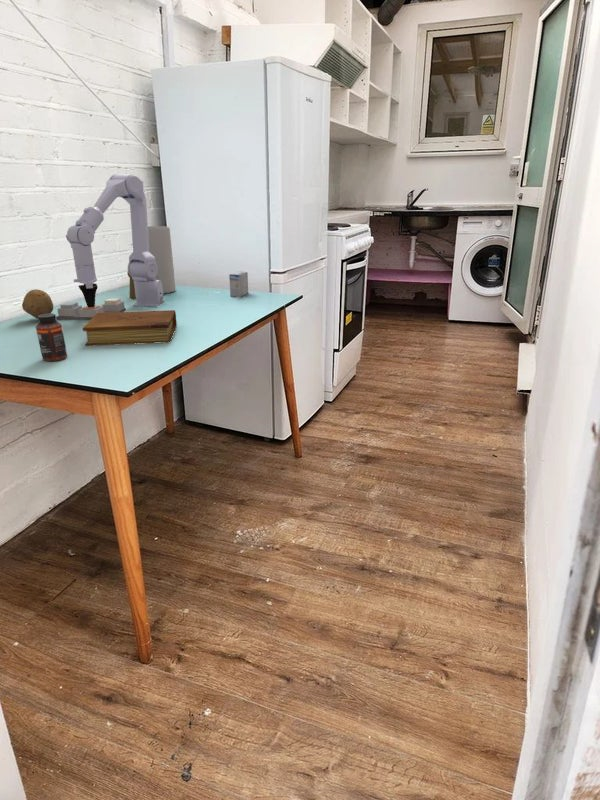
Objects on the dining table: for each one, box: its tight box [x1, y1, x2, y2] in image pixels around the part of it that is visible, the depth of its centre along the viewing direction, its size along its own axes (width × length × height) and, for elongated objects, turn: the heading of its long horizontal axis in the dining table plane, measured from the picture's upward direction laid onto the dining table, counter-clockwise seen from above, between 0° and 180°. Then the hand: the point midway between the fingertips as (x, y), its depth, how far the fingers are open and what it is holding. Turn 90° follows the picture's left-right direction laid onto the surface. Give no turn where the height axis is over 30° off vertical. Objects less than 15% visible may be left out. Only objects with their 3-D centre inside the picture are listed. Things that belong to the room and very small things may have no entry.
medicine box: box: [228, 270, 249, 298], centre depth 210 cm, size 8×4×9 cm, turn 162°
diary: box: [81, 309, 178, 347], centre depth 157 cm, size 23×19×6 cm
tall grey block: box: [140, 225, 176, 294], centre depth 215 cm, size 12×12×25 cm
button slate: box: [59, 301, 79, 309], centre depth 179 cm, size 4×4×2 cm
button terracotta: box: [82, 304, 101, 310], centre depth 178 cm, size 4×4×2 cm
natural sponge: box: [21, 288, 54, 320], centre depth 174 cm, size 9×9×10 cm
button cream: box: [104, 298, 122, 304], centre depth 184 cm, size 4×4×2 cm
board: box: [56, 300, 127, 321], centre depth 182 cm, size 18×14×3 cm
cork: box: [127, 271, 136, 300], centre depth 207 cm, size 6×6×11 cm
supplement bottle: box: [35, 312, 68, 362], centre depth 135 cm, size 6×6×11 cm
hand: (91, 306), depth 177 cm, fingers closed, pressing on button terracotta
